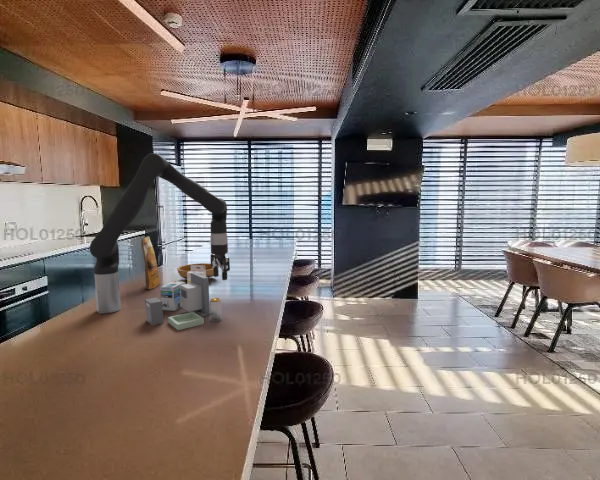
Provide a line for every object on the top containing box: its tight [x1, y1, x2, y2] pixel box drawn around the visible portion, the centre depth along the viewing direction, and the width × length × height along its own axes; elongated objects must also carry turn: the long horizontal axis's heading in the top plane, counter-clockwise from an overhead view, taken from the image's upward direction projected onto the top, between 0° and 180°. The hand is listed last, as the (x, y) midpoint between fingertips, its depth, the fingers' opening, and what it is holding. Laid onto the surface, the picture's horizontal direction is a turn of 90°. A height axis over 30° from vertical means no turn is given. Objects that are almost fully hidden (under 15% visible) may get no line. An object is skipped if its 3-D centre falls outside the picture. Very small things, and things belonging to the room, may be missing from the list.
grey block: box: [144, 297, 164, 326], centre depth 142 cm, size 5×7×9 cm, turn 39°
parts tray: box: [167, 311, 205, 331], centre depth 141 cm, size 10×10×2 cm
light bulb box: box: [159, 281, 186, 312], centre depth 161 cm, size 11×7×11 cm, turn 168°
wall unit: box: [180, 272, 210, 318], centre depth 154 cm, size 12×16×16 cm
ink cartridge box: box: [186, 265, 206, 284], centre depth 182 cm, size 9×5×15 cm, turn 84°
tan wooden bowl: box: [176, 263, 220, 280], centre depth 212 cm, size 30×24×8 cm
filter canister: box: [209, 297, 222, 323], centre depth 144 cm, size 4×4×9 cm
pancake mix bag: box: [141, 235, 161, 290], centre depth 198 cm, size 7×19×28 cm, turn 5°
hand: (220, 278), depth 161 cm, fingers open, 8 cm apart
